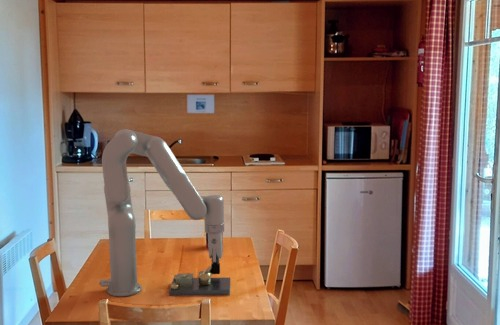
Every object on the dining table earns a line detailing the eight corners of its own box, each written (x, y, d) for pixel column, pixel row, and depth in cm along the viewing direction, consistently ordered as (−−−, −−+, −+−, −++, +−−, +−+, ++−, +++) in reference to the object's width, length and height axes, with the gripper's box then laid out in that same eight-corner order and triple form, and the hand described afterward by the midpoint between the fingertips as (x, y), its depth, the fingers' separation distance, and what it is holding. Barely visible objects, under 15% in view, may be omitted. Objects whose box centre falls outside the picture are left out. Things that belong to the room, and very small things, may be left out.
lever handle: (209, 285, 211) (209, 273, 210) (197, 284, 211) (196, 273, 211) (216, 274, 223) (216, 263, 222) (205, 273, 223) (205, 262, 223)
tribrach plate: (169, 295, 207) (168, 280, 206) (173, 283, 220) (173, 269, 219) (229, 294, 207) (229, 280, 206) (230, 282, 220) (230, 268, 219)
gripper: (223, 232, 210) (224, 280, 213) (225, 222, 225) (226, 267, 228) (203, 233, 210) (204, 280, 213) (206, 222, 225) (207, 267, 228)
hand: (215, 273), depth 220 cm, fingers closed
